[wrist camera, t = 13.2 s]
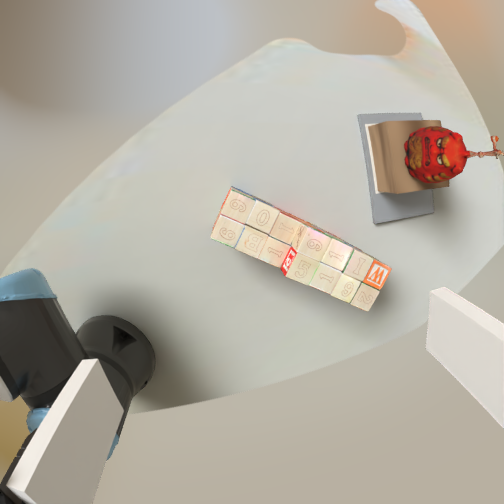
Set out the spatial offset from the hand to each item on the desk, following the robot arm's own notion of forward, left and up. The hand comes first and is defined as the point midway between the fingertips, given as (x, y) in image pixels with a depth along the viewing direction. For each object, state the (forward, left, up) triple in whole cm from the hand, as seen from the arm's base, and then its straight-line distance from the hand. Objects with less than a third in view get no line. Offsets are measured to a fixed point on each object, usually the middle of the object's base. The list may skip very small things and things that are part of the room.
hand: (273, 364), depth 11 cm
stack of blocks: (+7, -3, -35) cm, 36 cm away
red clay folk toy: (+26, +6, -28) cm, 39 cm away
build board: (+27, +5, -35) cm, 44 cm away
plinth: (+27, +6, -34) cm, 43 cm away
